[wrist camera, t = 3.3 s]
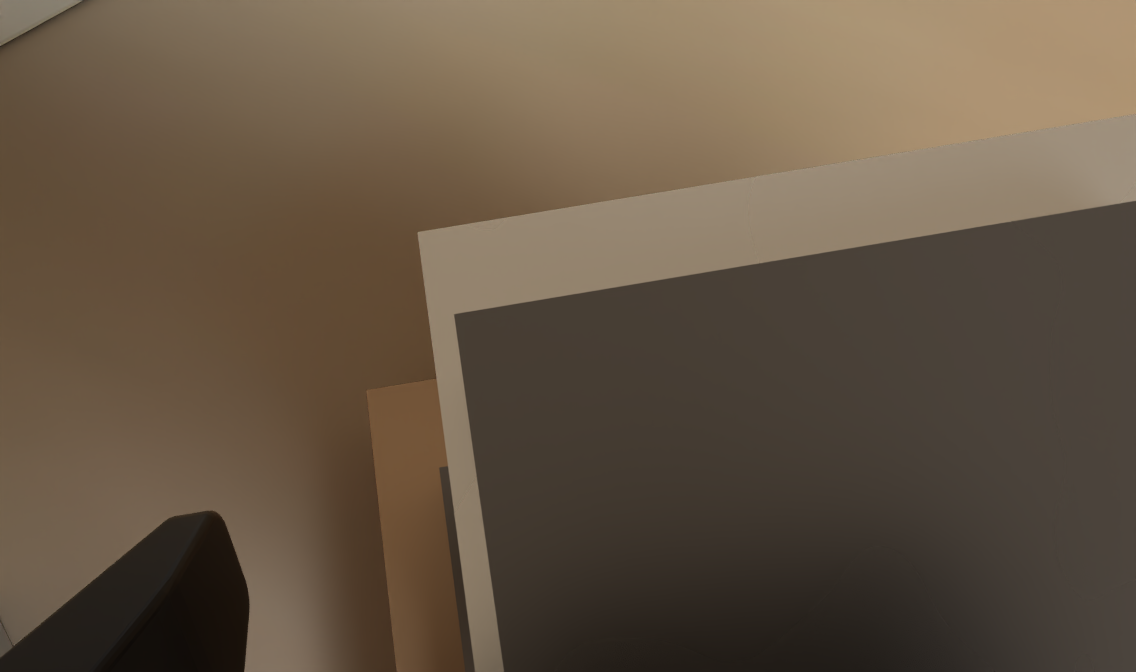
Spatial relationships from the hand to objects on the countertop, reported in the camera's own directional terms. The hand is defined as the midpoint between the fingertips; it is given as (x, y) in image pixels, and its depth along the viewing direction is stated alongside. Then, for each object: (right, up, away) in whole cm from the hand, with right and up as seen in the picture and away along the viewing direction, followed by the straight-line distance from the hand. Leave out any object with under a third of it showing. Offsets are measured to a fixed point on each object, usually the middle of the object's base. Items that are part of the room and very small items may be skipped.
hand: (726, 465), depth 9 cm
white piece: (0, -2, +3) cm, 4 cm away
